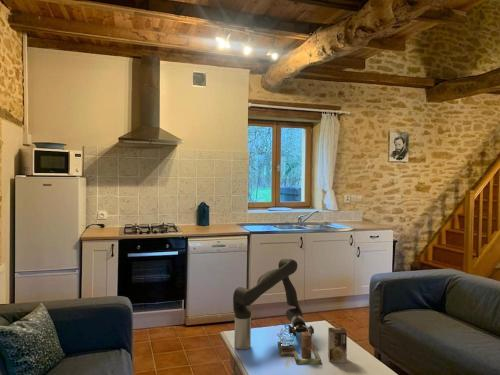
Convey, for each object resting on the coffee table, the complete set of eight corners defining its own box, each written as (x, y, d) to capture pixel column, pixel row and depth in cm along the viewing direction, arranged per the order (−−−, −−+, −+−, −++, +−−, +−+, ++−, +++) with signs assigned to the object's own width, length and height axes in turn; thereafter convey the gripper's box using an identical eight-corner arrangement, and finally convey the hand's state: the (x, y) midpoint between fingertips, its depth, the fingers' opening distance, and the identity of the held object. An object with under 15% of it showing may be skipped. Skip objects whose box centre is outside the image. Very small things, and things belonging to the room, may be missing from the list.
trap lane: (282, 364, 190) (283, 360, 190) (277, 343, 214) (277, 340, 214) (321, 363, 191) (321, 359, 191) (311, 343, 215) (311, 340, 215)
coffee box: (344, 357, 198) (345, 327, 198) (346, 363, 192) (347, 332, 192) (327, 356, 199) (328, 327, 199) (329, 362, 193) (329, 331, 193)
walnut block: (302, 359, 195) (303, 335, 195) (301, 355, 200) (301, 332, 199) (311, 359, 195) (311, 335, 195) (309, 355, 200) (309, 332, 200)
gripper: (286, 317, 222) (290, 328, 206) (310, 317, 223) (315, 328, 207) (286, 329, 223) (290, 341, 206) (309, 329, 223) (315, 341, 207)
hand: (303, 334), depth 207 cm, fingers open, 8 cm apart
